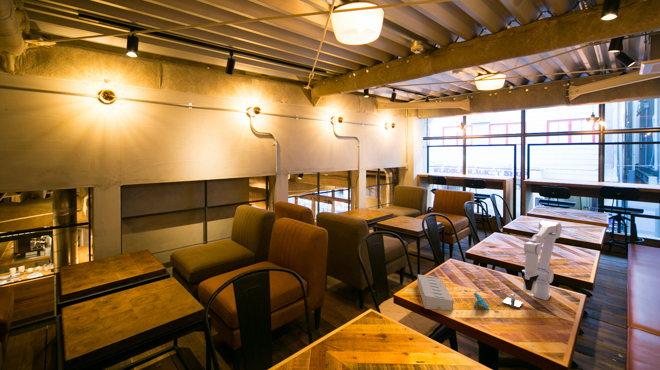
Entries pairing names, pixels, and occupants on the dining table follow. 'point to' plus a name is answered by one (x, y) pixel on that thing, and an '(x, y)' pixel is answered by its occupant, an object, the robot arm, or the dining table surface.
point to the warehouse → (434, 293)
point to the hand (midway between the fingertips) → (530, 288)
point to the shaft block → (512, 302)
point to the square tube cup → (533, 290)
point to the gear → (480, 301)
